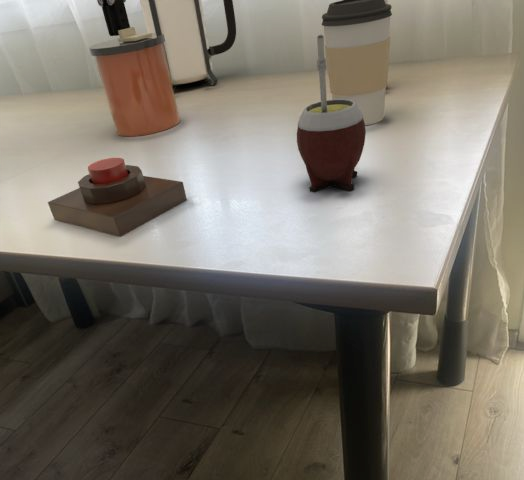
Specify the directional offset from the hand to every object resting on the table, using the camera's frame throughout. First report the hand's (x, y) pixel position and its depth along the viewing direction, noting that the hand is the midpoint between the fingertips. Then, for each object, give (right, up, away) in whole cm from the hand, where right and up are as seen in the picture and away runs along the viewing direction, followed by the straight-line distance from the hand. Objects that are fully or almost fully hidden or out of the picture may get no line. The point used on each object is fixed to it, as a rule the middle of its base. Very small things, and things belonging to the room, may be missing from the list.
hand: (120, 33), depth 84 cm
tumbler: (+3, -11, +8) cm, 14 cm away
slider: (+3, -2, -1) cm, 3 cm away
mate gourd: (+30, -32, -26) cm, 51 cm away
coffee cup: (+36, -17, -7) cm, 41 cm away
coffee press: (+7, +8, +33) cm, 35 cm away
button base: (+6, -34, -23) cm, 41 cm away
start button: (+6, -31, -25) cm, 40 cm away
